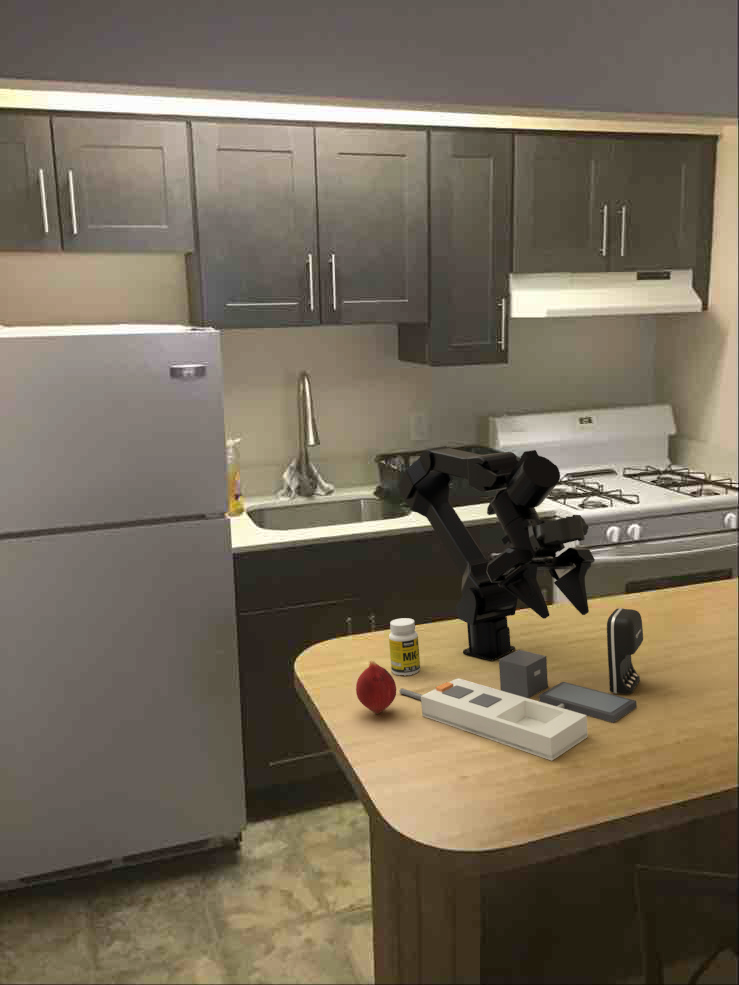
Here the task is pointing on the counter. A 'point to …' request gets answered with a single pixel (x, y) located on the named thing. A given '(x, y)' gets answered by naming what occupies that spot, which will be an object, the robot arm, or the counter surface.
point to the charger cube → (523, 673)
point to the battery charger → (623, 649)
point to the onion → (376, 688)
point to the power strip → (504, 717)
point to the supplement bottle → (404, 647)
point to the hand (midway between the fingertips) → (566, 615)
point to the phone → (588, 701)
